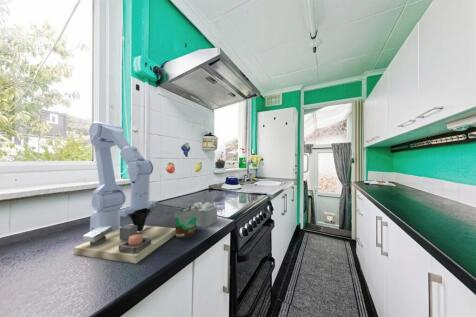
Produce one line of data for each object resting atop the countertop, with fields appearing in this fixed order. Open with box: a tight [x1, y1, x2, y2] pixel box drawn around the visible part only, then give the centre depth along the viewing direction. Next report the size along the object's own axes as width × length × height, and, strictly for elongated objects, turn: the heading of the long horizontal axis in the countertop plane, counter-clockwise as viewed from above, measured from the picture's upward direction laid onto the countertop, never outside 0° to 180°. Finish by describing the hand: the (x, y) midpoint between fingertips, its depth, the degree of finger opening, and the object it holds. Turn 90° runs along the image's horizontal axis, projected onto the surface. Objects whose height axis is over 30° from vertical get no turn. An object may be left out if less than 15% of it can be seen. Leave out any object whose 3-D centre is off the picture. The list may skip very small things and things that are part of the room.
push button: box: [128, 234, 143, 247], centre depth 50 cm, size 4×4×3 cm
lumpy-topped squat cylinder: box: [193, 201, 218, 228], centre depth 79 cm, size 10×13×9 cm
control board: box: [72, 223, 176, 264], centre depth 57 cm, size 22×20×4 cm
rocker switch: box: [82, 225, 113, 242], centre depth 53 cm, size 4×6×2 cm, turn 168°
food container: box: [173, 204, 199, 239], centre depth 65 cm, size 12×6×10 cm, turn 168°
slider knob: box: [120, 224, 137, 240], centre depth 56 cm, size 4×3×4 cm
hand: (139, 230), depth 60 cm, fingers closed
